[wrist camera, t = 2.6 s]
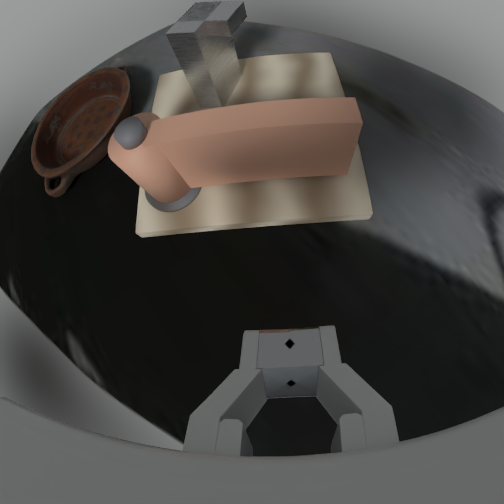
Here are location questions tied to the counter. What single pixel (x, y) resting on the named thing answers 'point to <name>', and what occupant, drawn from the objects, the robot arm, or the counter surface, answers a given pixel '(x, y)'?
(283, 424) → the counter surface
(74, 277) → the counter surface
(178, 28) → the block
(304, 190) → the base board
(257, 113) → the link
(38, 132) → the dish
